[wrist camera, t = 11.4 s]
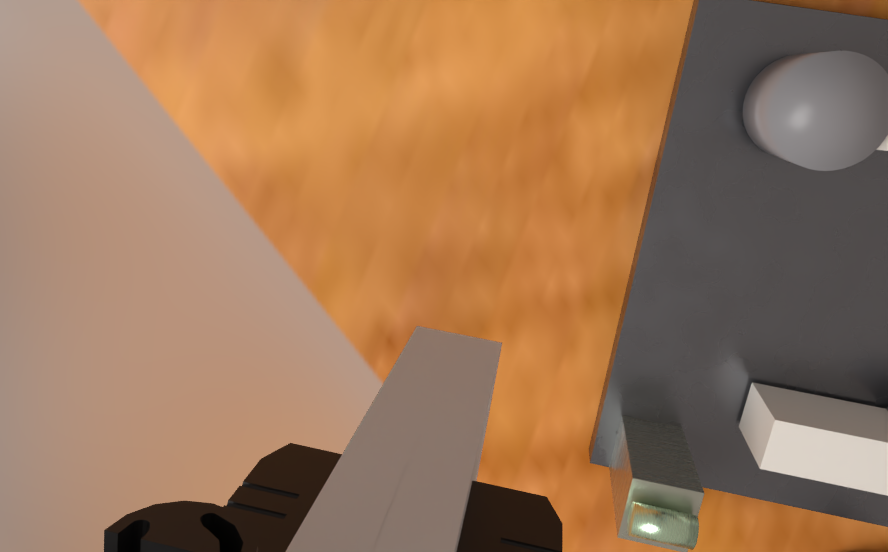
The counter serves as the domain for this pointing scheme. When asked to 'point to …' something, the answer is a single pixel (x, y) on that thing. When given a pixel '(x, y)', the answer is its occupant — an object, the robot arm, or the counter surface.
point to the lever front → (819, 109)
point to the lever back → (817, 437)
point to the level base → (742, 285)
